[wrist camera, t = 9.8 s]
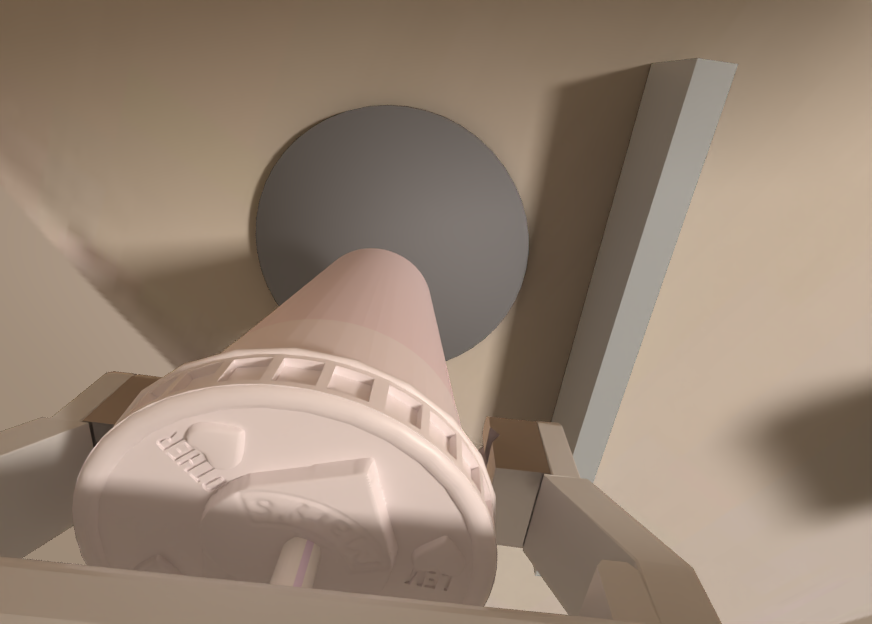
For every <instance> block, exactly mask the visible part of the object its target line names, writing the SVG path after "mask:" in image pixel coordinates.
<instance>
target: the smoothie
mask: <svg viewBox="0 0 872 624" xmlns="http://www.w3.org/2000/svg"><path fill="white" fill-rule="evenodd" d="M495 507H496V495H495V492H494V489H493V486H492V483H491V481H490V478H489V475H488V472H487V469H486V466H485V463H484V460H483V458H482V455H481V454H480V452H479V451H478V450H477V448H476V447H475V446H474V444H473V443H472V442H471V440H470V439H469V438H468V436H467V435H466V434H465V432H464V431H463V430H462V428H461V424H460V420H459V416H458V412H457V409H456V405H455V401H454V396H453V392H452V387H451V383H450V379H449V374H448V370H447V366H446V361H445V357H444V352H443V348H442V344H441V339H440V335H439V330H438V326H437V322H436V317H435V313H434V309H433V304H432V300H431V295H430V291H429V288H428V285H427V283H426V281H425V279H424V277H423V275H422V274H421V273H420V271H419V270H418V269H417V268H416V267H415V266H414V265H413V264H412V263H411V262H410V261H408V260H407V259H405V258H404V257H402V256H400V255H398V254H396V253H394V252H391V251H388V250H383V249H376V248H366V249H359V250H355V251H352V252H349V253H347V254H345V255H343V256H341V257H340V258H338V259H337V260H336V261H335V262H333V263H332V264H331V265H330V266H328V267H327V268H326V269H325V270H323V271H322V272H321V273H320V274H319V275H317V276H316V277H315V278H314V279H312V280H311V281H310V282H309V283H307V284H306V285H305V286H304V287H302V288H301V289H300V290H299V291H298V292H296V293H295V294H294V295H293V296H291V297H290V298H289V299H288V300H286V301H285V302H284V303H283V304H282V305H280V306H279V307H278V308H277V309H275V310H274V311H273V312H272V313H270V314H269V315H268V316H267V317H266V318H264V319H263V320H262V321H261V322H259V323H258V324H257V325H256V326H254V327H253V328H252V329H251V330H250V331H248V332H247V333H246V334H245V335H243V336H242V337H241V338H240V339H238V340H237V341H236V342H234V343H233V344H231V345H230V346H229V347H228V348H226V349H225V350H224V351H223V352H222V353H221V354H217V355H214V356H210V357H206V358H203V359H199V360H196V361H192V362H189V363H185V364H183V365H181V366H180V367H178V368H176V369H175V370H173V371H172V372H170V373H168V374H167V375H165V376H164V377H162V378H160V379H159V380H157V381H156V382H154V383H153V384H151V385H149V386H148V387H146V388H145V389H143V390H142V391H141V392H140V393H139V394H138V396H137V397H136V398H135V399H134V401H133V402H132V403H131V404H130V406H129V407H128V408H127V409H126V411H125V412H124V413H123V415H122V416H121V417H120V418H119V420H118V421H117V422H116V423H115V425H114V427H113V428H112V429H110V430H109V431H108V432H107V433H106V434H105V435H104V436H103V437H102V438H101V440H100V441H99V442H98V443H97V444H96V446H95V447H94V448H93V449H92V451H91V452H90V454H89V456H88V457H87V459H86V460H85V462H84V464H83V466H82V468H81V471H80V473H79V476H78V478H77V482H76V486H75V490H74V495H73V506H72V513H73V525H74V530H75V535H76V539H77V542H78V545H79V548H80V552H81V556H82V558H83V559H84V561H85V563H86V565H90V566H100V567H109V568H119V569H129V570H138V571H148V572H158V573H167V574H177V575H187V576H197V577H206V578H216V579H226V580H235V581H245V582H255V583H265V584H274V585H284V586H294V587H303V588H313V589H323V590H332V591H342V592H351V593H361V594H370V595H380V596H389V597H398V598H408V599H417V600H427V601H436V602H446V603H455V604H464V605H474V606H483V607H484V606H485V604H486V602H487V600H488V598H489V596H490V593H491V590H492V587H493V584H494V580H495V575H496V570H497V545H496V535H495Z"/></svg>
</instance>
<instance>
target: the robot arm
mask: <svg viewBox="0 0 872 624" xmlns="http://www.w3.org/2000/svg"><path fill="white" fill-rule="evenodd" d="M160 378H162V377H155V376H148V375H140V374H139V375H137V374H133V373H124V372H115V371H113V372H108V373H105V374H104V375H103V376H102V377H100V378H99V379H98V380H97V381H96V382H94V383H93V384H92V385H91V386H89V387H88V388H87V389H86V390H85V391H83V392H82V393H81V394H79V395H78V396H77V397H76V398H75V399H73V400H72V401H71V402H70V403H68V404H67V405H66V406H65V407H64V408H62V409H61V410H60V411H59V412H58V413H56V414H55V415H54V416H52V417H51V418H43V417H41V418H38V419H36V420H32V421H29V422H27V423H24V424H21V425H18V426H15V427H12V428H9V429H6V430H4V431H1V432H0V624H722V623H721V621H720V619H719V617H718V615H717V613H716V611H715V610H714V608H713V606H712V604H711V602H710V600H709V598H708V596H707V594H706V592H705V590H704V588H703V586H702V584H701V582H700V580H699V578H698V577H697V575H696V573H695V571H694V569H693V567H691V566H690V565H689V564H688V563H687V562H685V561H684V560H683V559H682V558H681V557H680V556H678V555H677V554H676V553H675V552H674V551H672V550H671V549H670V548H669V547H668V546H666V545H665V544H664V543H663V542H662V541H661V540H659V539H658V538H657V537H656V536H655V535H653V534H652V533H651V532H650V531H649V530H648V529H646V528H645V527H644V526H643V525H642V524H640V523H639V522H638V521H637V520H636V519H634V518H633V517H632V516H631V515H630V514H629V513H627V512H626V511H625V510H624V509H623V508H621V507H620V506H619V505H618V504H617V503H616V502H614V501H613V500H612V499H611V498H610V497H608V496H607V495H606V494H605V493H604V492H603V491H601V490H600V489H599V488H598V487H597V486H595V485H594V484H593V483H592V482H591V481H589V480H588V479H584V478H580V475H579V473H578V470H577V467H576V464H575V461H574V458H573V456H572V453H571V450H570V447H569V444H568V441H567V439H566V436H565V433H564V430H563V427H562V425H561V424H559V423H556V422H544V421H527V420H517V419H507V418H498V417H488V416H487V417H486V420H485V423H484V427H483V432H482V434H483V445H484V446H483V447H482V448H481V449H479V452H480V454H481V455H482V458H483V460H484V463H485V466H486V469H487V472H488V475H489V478H490V481H491V483H492V486H493V489H494V492H495V495H496V507H495V535H496V545H503V546H511V547H518V548H523V551H524V553H525V554H526V556H527V557H528V558H529V560H530V561H531V563H532V564H533V566H534V567H535V568H536V570H537V571H538V573H539V574H540V575H541V577H542V578H543V580H544V581H545V582H546V584H547V585H548V587H549V588H550V589H551V591H552V592H553V594H554V595H555V596H556V598H557V599H558V601H559V602H560V603H561V605H562V606H563V608H564V609H565V611H566V612H567V613H568V615H563V614H553V613H543V612H533V611H523V610H513V609H503V608H493V607H483V606H474V605H464V604H455V603H446V602H436V601H427V600H417V599H408V598H398V597H389V596H380V595H370V594H361V593H351V592H342V591H332V590H323V589H313V588H303V587H294V586H284V585H274V584H265V583H255V582H245V581H235V580H226V579H216V578H206V577H197V576H187V575H177V574H167V573H158V572H148V571H138V570H129V569H119V568H109V567H100V566H90V565H79V564H71V563H61V562H51V561H42V560H32V559H23V557H25V556H26V555H28V554H29V553H31V552H32V551H34V550H36V549H37V548H39V547H41V546H42V545H44V544H45V543H47V542H48V541H50V540H52V539H53V538H55V537H56V536H58V535H60V534H61V533H63V532H64V531H66V530H67V529H69V528H70V527H72V526H74V525H73V513H72V506H73V495H74V490H75V486H76V482H77V478H78V476H79V473H80V471H81V468H82V466H83V464H84V462H85V460H86V459H87V457H88V456H89V454H90V452H91V451H92V449H93V448H94V447H95V446H96V444H97V443H98V442H99V441H100V440H101V438H102V437H103V436H104V435H105V434H106V433H107V432H108V431H109V430H110V429H112V428H113V427H114V425H115V423H116V422H117V421H118V420H119V418H120V417H121V416H122V415H123V413H124V412H125V411H126V409H127V408H128V407H129V406H130V404H131V403H132V402H133V401H134V399H135V398H136V397H137V396H138V394H139V393H140V392H141V391H142V390H143V389H145V388H146V387H148V386H149V385H151V384H153V383H154V382H156V381H157V380H159V379H160Z"/></svg>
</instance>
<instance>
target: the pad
mask: <svg viewBox="0 0 872 624" xmlns="http://www.w3.org/2000/svg"><path fill="white" fill-rule="evenodd" d="M256 243H257V253H258V257H259V262H260V266H261V270H262V273H263V275H264V278H265V281H266V283H267V286H268V288H269V290H270V291H271V293H272V295H273V297H274V299H275V301H276V302H277V304H278V305H279V306H280V305H282V304H283V303H284V302H285V301H286V300H288V299H289V298H290V297H291V296H293V295H294V294H295V293H296V292H298V291H299V290H300V289H301V288H302V287H304V286H305V285H306V284H307V283H309V282H310V281H311V280H312V279H314V278H315V277H316V276H317V275H319V274H320V273H321V272H322V271H323V270H325V269H326V268H327V267H328V266H330V265H331V264H332V263H333V262H335V261H336V260H337V259H338V258H340V257H341V256H343V255H345V254H347V253H349V252H352V251H355V250H359V249H366V248H376V249H383V250H388V251H391V252H394V253H396V254H398V255H400V256H402V257H404V258H405V259H407V260H408V261H410V262H411V263H412V264H413V265H414V266H415V267H416V268H417V269H418V270H419V271H420V273H421V274H422V275H423V277H424V279H425V281H426V283H427V285H428V288H429V291H430V295H431V300H432V304H433V309H434V313H435V317H436V322H437V326H438V330H439V335H440V339H441V344H442V348H443V352H444V357H445V361H447V360H450V359H452V358H454V357H457V356H459V355H461V354H462V353H464V352H466V351H468V350H469V349H471V348H473V347H474V346H475V345H477V344H478V343H479V342H481V341H482V340H484V339H485V338H486V337H487V336H488V335H489V334H490V333H491V332H492V331H493V330H494V329H495V328H496V327H497V326H498V325H499V324H500V322H501V321H502V320H503V319H504V317H505V316H506V315H507V313H508V311H509V310H510V308H511V307H512V305H513V303H514V302H515V300H516V297H517V295H518V293H519V290H520V288H521V286H522V282H523V279H524V275H525V272H526V267H527V260H528V253H529V235H528V227H527V219H526V215H525V211H524V207H523V204H522V200H521V198H520V196H519V193H518V191H517V189H516V186H515V184H514V182H513V180H512V179H511V177H510V175H509V174H508V172H507V170H506V169H505V167H504V166H503V164H502V163H501V162H500V161H499V159H498V158H497V157H496V156H495V154H494V153H493V152H492V151H491V150H490V149H489V148H488V147H487V146H486V145H485V144H484V143H483V142H482V141H481V140H480V139H479V138H478V137H476V136H475V135H473V134H472V133H471V132H469V131H468V130H466V129H465V128H464V127H462V126H461V125H459V124H457V123H455V122H453V121H451V120H449V119H447V118H445V117H443V116H440V115H437V114H435V113H432V112H429V111H426V110H422V109H417V108H412V107H408V106H394V105H381V106H368V107H363V108H359V109H354V110H350V111H346V112H343V113H341V114H338V115H336V116H333V117H330V118H328V119H326V120H324V121H323V122H321V123H319V124H317V125H315V126H314V127H312V128H311V129H309V130H308V131H307V132H305V133H304V134H303V135H302V136H300V137H299V138H298V139H296V141H295V142H294V143H293V144H292V145H291V146H290V147H289V148H288V149H287V150H286V151H285V152H284V153H283V155H282V156H281V157H280V159H279V160H278V162H277V163H276V165H275V166H274V167H273V169H272V171H271V173H270V175H269V177H268V179H267V181H266V183H265V186H264V189H263V192H262V195H261V198H260V201H259V207H258V212H257V218H256Z"/></svg>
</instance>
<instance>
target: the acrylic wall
mask: <svg viewBox="0 0 872 624" xmlns="http://www.w3.org/2000/svg"><path fill="white" fill-rule="evenodd" d="M737 66H738V64H735V63H728V62H721V61H715V60H708V59H701V58H694V59H685V60H676V61H667V62H658V63H652V64H651V67H650V71H649V75H648V78H647V82H646V85H645V89H644V92H643V96H642V100H641V103H640V107H639V110H638V114H637V117H636V121H635V125H634V128H633V132H632V135H631V139H630V142H629V146H628V150H627V153H626V157H625V160H624V164H623V167H622V171H621V174H620V178H619V182H618V185H617V189H616V192H615V196H614V199H613V203H612V207H611V210H610V214H609V217H608V221H607V224H606V228H605V232H604V235H603V239H602V242H601V246H600V249H599V253H598V257H597V260H596V264H595V267H594V271H593V274H592V278H591V282H590V285H589V289H588V292H587V296H586V299H585V303H584V307H583V310H582V314H581V317H580V321H579V324H578V328H577V332H576V335H575V339H574V342H573V346H572V349H571V353H570V357H569V360H568V364H567V367H566V371H565V374H564V378H563V382H562V385H561V389H560V392H559V396H558V399H557V403H556V406H555V410H554V414H553V417H552V421H551V422H556V423H559V424H561V425H562V427H563V430H564V433H565V436H566V439H567V441H568V444H569V447H570V450H571V453H572V456H573V458H574V461H575V464H576V467H577V470H578V473H579V475H580V478H584V479H588V480H589V481H591V482H592V483H593V482H594V479H595V476H596V473H597V470H598V467H599V464H600V461H601V459H602V456H603V453H604V450H605V447H606V444H607V441H608V438H609V436H610V433H611V430H612V427H613V424H614V421H615V418H616V415H617V412H618V410H619V407H620V404H621V401H622V398H623V395H624V392H625V389H626V387H627V384H628V381H629V378H630V375H631V372H632V369H633V366H634V363H635V361H636V358H637V355H638V352H639V349H640V346H641V343H642V340H643V337H644V335H645V332H646V329H647V326H648V323H649V320H650V317H651V314H652V312H653V309H654V306H655V303H656V300H657V297H658V294H659V291H660V288H661V286H662V283H663V280H664V277H665V274H666V271H667V268H668V265H669V263H670V260H671V257H672V254H673V251H674V248H675V245H676V242H677V239H678V237H679V234H680V231H681V228H682V225H683V222H684V219H685V216H686V213H687V211H688V208H689V205H690V202H691V199H692V196H693V193H694V190H695V188H696V185H697V182H698V179H699V176H700V173H701V170H702V167H703V164H704V162H705V159H706V156H707V153H708V150H709V147H710V144H711V141H712V139H713V136H714V133H715V130H716V127H717V124H718V121H719V118H720V115H721V113H722V110H723V107H724V104H725V101H726V98H727V95H728V92H729V90H730V87H731V84H732V81H733V78H734V75H735V72H736V69H737ZM533 567H534V566H533ZM534 572H535V576H541V575H540V574H539V573H538V571H537V570H536V568H535V567H534Z"/></svg>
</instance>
